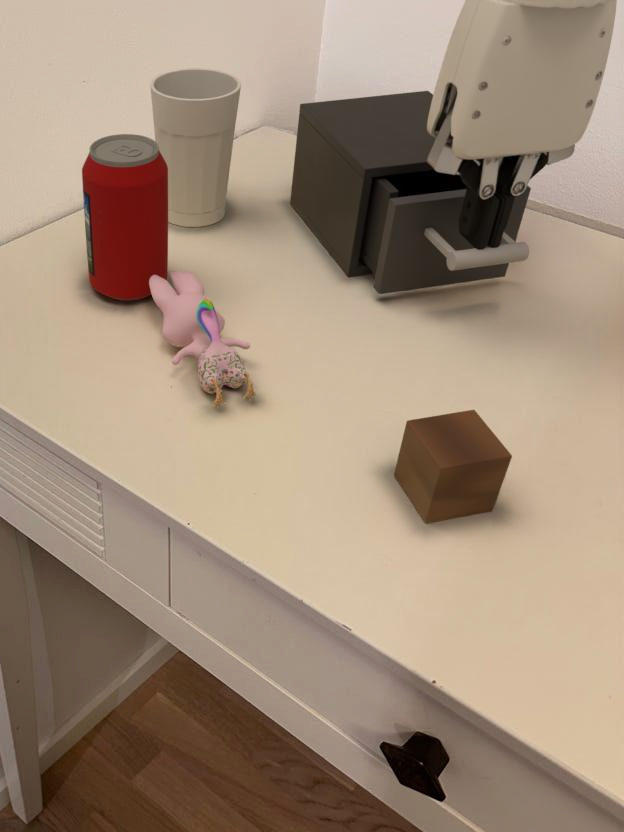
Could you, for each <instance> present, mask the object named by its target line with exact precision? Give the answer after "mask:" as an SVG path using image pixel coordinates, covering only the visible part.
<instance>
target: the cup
mask: <svg viewBox="0 0 624 832" xmlns="http://www.w3.org/2000/svg"><path fill="white" fill-rule="evenodd" d="M149 84H150V85H149V87H150V98H151V107H152V108H151V109H152V117H153V118H152V119H153V129H154V141H155V142H157V144H158V146H159V151H160V153H161V155H162V156H163V158H164V160H165V162H166V164H167V167H168V224H169V223H170V224H172V225H175V226H179V227H186V228H200V227H207V226H211V225H213V224H216V223H218V222H220V221H222V219H223V218H224V217H225V216H226V207H227V193H228V185H229V178H230V171H231V162H232V154H233V146H234V138H235V131H236V130H235V129H236V123H237V118H238V117H237V115H238V109H239V102H240V96H241V89H242V83H241V80H240V79H239V78H238V77H237V76H235V75H233V74H231V73H229V72H225V71H222V70H217V69H210V68H200V67H199V68H195V67H193V68H181V69H174V70H169V71H166V72H164V73H161V74H159V75H156V76H155V77H153V79H151V81H150V83H149Z"/></svg>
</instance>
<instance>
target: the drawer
mask: <svg viewBox="0 0 624 832" xmlns="http://www.w3.org/2000/svg"><path fill="white" fill-rule="evenodd" d="M531 189H532V188H531V187H530V186H529V184H528V185H527V187H526V189H525V191H524V192H523V193H522V194H521V195H518V196H515V199H514V202H513V206H512V209H511V213H510V216H509V220H508V223H507V226H506V228H505V230H504V232H503V236H502V239H501V243H500V246H499V247H494V248H491V247H489V246H486V247H485V248H484V249H476V248H474V247H473V246H472V245H471V244H470V243H469V242H468V241H467V240H466V239H465V238H464V237H463V236H462V235H461V234H460V233H459V226H458V223H459V218H460V214H461V210H462V206H463V202H464V198H465V194H466V190H467V185H466V184H464V183H463V182H462V179H461V178H460V176H459V175H451V174H446V173H440V172H437V171H435V170H430V171H421V172H413V173H405V174H396V175H388V176H379V177H372V184H371V190H370V196H369V202H368V208H367V214H366V220H365V226H364V232H363V238H362V244H361V250H360V256H359V257H360V258H361V259H362V260H363V261H364V263H365V264H366V265H367V266H368V267H369V269H370V270H371V271H372V272H373V273H372V274H373V275H374V281H373V289H374V290H375V291H376V293H377V294H378V295H383V294H384V295H385V294H392V293H400V292H407V291H413V290H414V291H415V290H419V289H421V290H422V289H427V288H434V287H442V286H448V285H449V286H450V285H455V284H464V283H469V282H476V281H484V280H491V279H497V278H498V279H499V278H504V277H506V275H507V271H508V269H509V265H510V263H517V262H518V263H519V262H525V261H526V260H527V259H528V258H529V255H530V247H529V245H528V243H527V242H526V241H519V242H518V241H517V242H516V240H517V237H518V234H519V231H520V227H521V224H522V221H523V217H524V215H525V211H526V206H527V204H528V201H529V196H530V194H531Z"/></svg>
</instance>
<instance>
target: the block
mask: <svg viewBox="0 0 624 832" xmlns="http://www.w3.org/2000/svg"><path fill="white" fill-rule="evenodd" d="M512 458H513V455H512V453H510V451H509V450H508V449H507V448H506V446H505V445H504V444H503V443H502V441H501V440H500V439H499V437H498V436H497V435H496V434H495V433H494V432H493V431H492V429H491V428H490V427H489V425H488V424H487V423H486V422H485V421H484V419H483V418H482V417H481V416H480V414H479V413H478V412H477V411H476V410H475V409H468V410H463V411H457V412H451V413H445V414H439V415H432V416H427V417H421V418H415V419H410V420H409V419H407V420H406V423H405V426H404V431H403V436H402V439H401V443H400V448H399V452H398V456H397V460H396V464H395V467H394V473H393V476H394V477H395V480H397V483H398V484H399V486H400V487H401V488H402V490H403V491H404V492H405V495H406V496H407V497H408V499H409V501H410V502H411V503H412V505H413V506H414V508H415V509H416V511H417V513H418V514H419V516H420V517H421V519H422V520H423V522H424V523H425V524H430V523H434V522H440V521H445V520H450V519H456V518H461V517H467V516H473V515H477V514H482V513H488V512H493V510H494V509H495V506H496V504H497V503H496V502H497V500H498V497H499V495H500V492H501V490H502V487H503V483H504V480H505V477H506V475H507V472H508V469H509V466H510V464H511V461H512Z"/></svg>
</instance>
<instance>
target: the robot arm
mask: <svg viewBox="0 0 624 832" xmlns="http://www.w3.org/2000/svg"><path fill="white" fill-rule="evenodd" d="M617 2H618V0H465V1H464V3H463V5H462V7H461V9H460V12H459V15H458V16H457V19H456V22H455V24H454V27H453V29H452V32H451V35H450V38H449V41H448V43H447V46H446V50H445V52H444V56H443V60H442V63H441V66H440V70H439V73H438V76H437V79H436V83H435V86H434V91H433V93H432V94H433V98H432V102H431V106H430V111H429V115H428V121H427V131H428V133H429V134H430V135H431V136H433V137H435V138H436V140H435V142H434V144H433V147H432V149H431V151H430V153H429V156H428V158H427V163H428V164H429V165H430V166H431V167H432V168H433V169H434V170H435V171H437V172H440V173H446V174H451V175H459V176H460V178H461V179H462V182H463V183H464V184H466V185H467V190H466V194H465V198H464V202H463V206H462V210H461V214H460V218H459V223H458V226H459V233H460V234H461V235H462V236H463V237H464V238H465V239H466V240H467V241H468V242H469V243H470V244H471V245H472V246H473V247H474V248H476V249H484V248H485V247H486V246H489V247H491V248H494V247H499V246H500V243H501V239H502V236H503V232H504V230H505V228H506V226H507V223H508V220H509V216H510V213H511V209H512V206H513V202H514V199H515V196H518V195H521V194H522V193H523V192H524V191H525V189H526V187H527V185H528V186H529V183H530V180H532V179H533V178H534V177H535V176H536V175H538V173H539V172H541V170H543V169H544V168H545V167H546V165H547V166H550V165H553V164H556V163H558V162H561V161H563V160H566V159H569V158H570V157H571V156H573V154H574V153H575V148H576V144H577V143H578V142H580V141H581V140H582V138H583V136H584V134H585V133H586V131H587V128H588V125H589V123H590V121H591V118H592V115H593V113H594V109H595V106H596V103H597V100H598V96H599V94H600V90H601V86H602V83H603V78H604V74H605V71H606V67H607V63H608V58H609V53H610V49H611V44H612V38H613V33H614V26H615V20H616V13H617V5H618V4H617Z"/></svg>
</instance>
